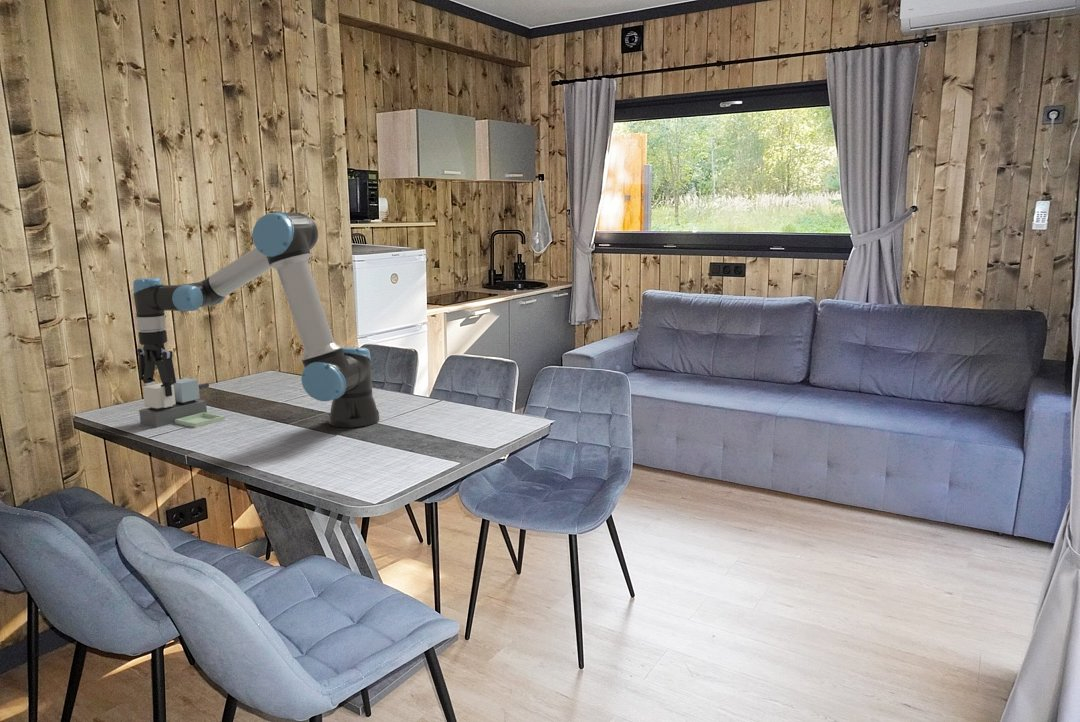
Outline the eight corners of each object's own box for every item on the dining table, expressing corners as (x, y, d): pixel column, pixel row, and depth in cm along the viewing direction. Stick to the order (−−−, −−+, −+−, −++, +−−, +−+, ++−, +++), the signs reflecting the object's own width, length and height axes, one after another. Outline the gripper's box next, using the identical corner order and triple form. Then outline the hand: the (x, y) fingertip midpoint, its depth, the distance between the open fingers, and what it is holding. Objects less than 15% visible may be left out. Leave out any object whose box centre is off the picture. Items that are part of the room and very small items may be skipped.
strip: (218, 413, 243) (214, 376, 240) (157, 429, 225) (152, 390, 223) (202, 410, 247) (198, 374, 244) (140, 426, 229) (136, 387, 227)
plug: (158, 424, 226) (155, 388, 224) (146, 422, 229) (142, 386, 227) (177, 420, 231) (173, 384, 229) (165, 417, 234) (161, 382, 232)
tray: (224, 421, 233) (224, 416, 232) (196, 429, 224) (195, 423, 224) (204, 417, 238) (203, 412, 237) (175, 425, 229) (174, 419, 229)
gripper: (184, 330, 223) (192, 406, 228) (144, 326, 233) (151, 398, 238) (161, 334, 217) (169, 411, 221) (120, 329, 227) (128, 404, 231)
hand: (160, 405), depth 229 cm, fingers open, 7 cm apart
